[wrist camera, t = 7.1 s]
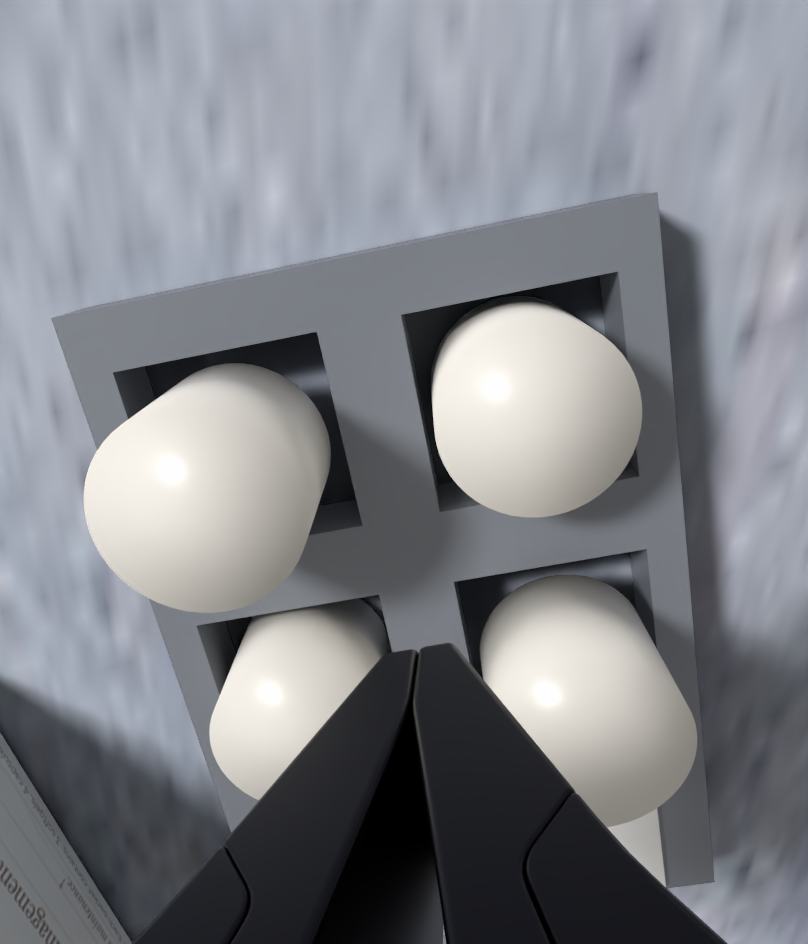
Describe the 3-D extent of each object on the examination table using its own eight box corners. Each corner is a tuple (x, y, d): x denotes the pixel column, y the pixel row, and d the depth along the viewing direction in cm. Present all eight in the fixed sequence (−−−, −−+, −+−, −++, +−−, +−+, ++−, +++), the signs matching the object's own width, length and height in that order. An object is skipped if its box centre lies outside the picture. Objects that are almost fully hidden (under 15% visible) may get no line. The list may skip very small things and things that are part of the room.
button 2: (374, 573, 22) (364, 650, 18) (403, 700, 23) (401, 796, 19) (227, 598, 22) (187, 679, 18) (265, 722, 23) (236, 820, 20)
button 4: (635, 561, 19) (689, 647, 15) (651, 703, 21) (703, 813, 17) (467, 590, 20) (478, 680, 16) (493, 727, 21) (510, 840, 17)
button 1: (307, 347, 18) (276, 384, 14) (348, 517, 19) (331, 593, 15) (128, 382, 18) (51, 427, 14) (181, 547, 19) (124, 628, 15)
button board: (632, 194, 18) (662, 191, 16) (691, 830, 25) (719, 893, 22) (86, 307, 19) (42, 320, 17) (279, 887, 26) (266, 953, 23)
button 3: (588, 279, 19) (631, 297, 15) (607, 444, 20) (650, 498, 16) (416, 314, 19) (416, 340, 15) (446, 474, 21) (453, 533, 17)
